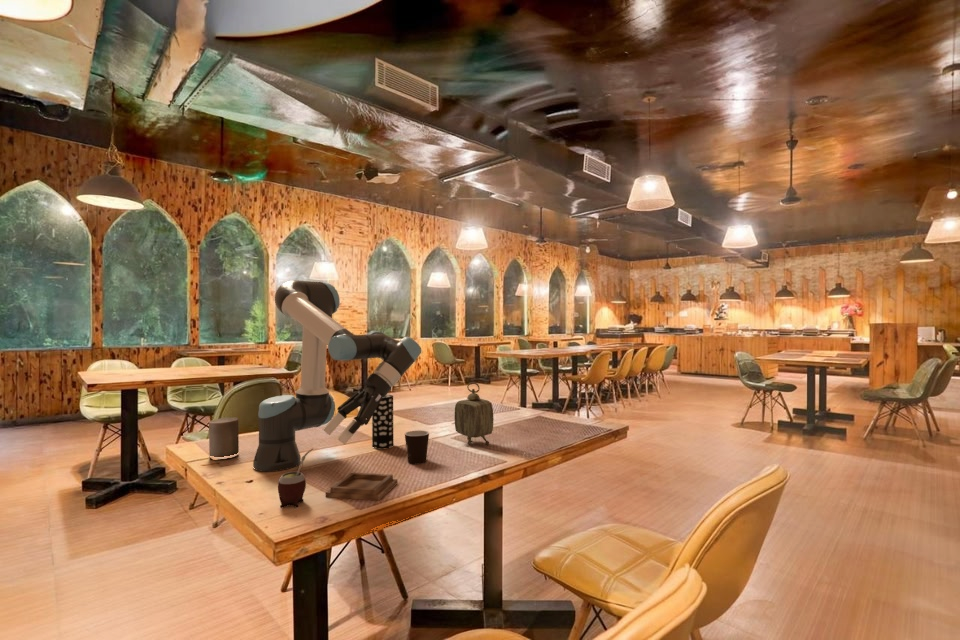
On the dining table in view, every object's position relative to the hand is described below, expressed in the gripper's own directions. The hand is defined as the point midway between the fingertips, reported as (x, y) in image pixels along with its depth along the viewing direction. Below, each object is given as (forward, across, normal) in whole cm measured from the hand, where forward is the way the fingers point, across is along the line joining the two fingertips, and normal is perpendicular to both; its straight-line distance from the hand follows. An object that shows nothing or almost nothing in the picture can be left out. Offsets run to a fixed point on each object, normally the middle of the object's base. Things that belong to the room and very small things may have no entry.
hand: (333, 437), depth 131 cm
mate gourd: (+19, 0, -4) cm, 20 cm away
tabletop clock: (-33, +23, -57) cm, 70 cm away
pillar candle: (+27, +63, +3) cm, 69 cm away
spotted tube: (-11, +42, -35) cm, 56 cm away
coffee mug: (-13, +16, -37) cm, 42 cm away
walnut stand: (+6, -1, -18) cm, 19 cm away
